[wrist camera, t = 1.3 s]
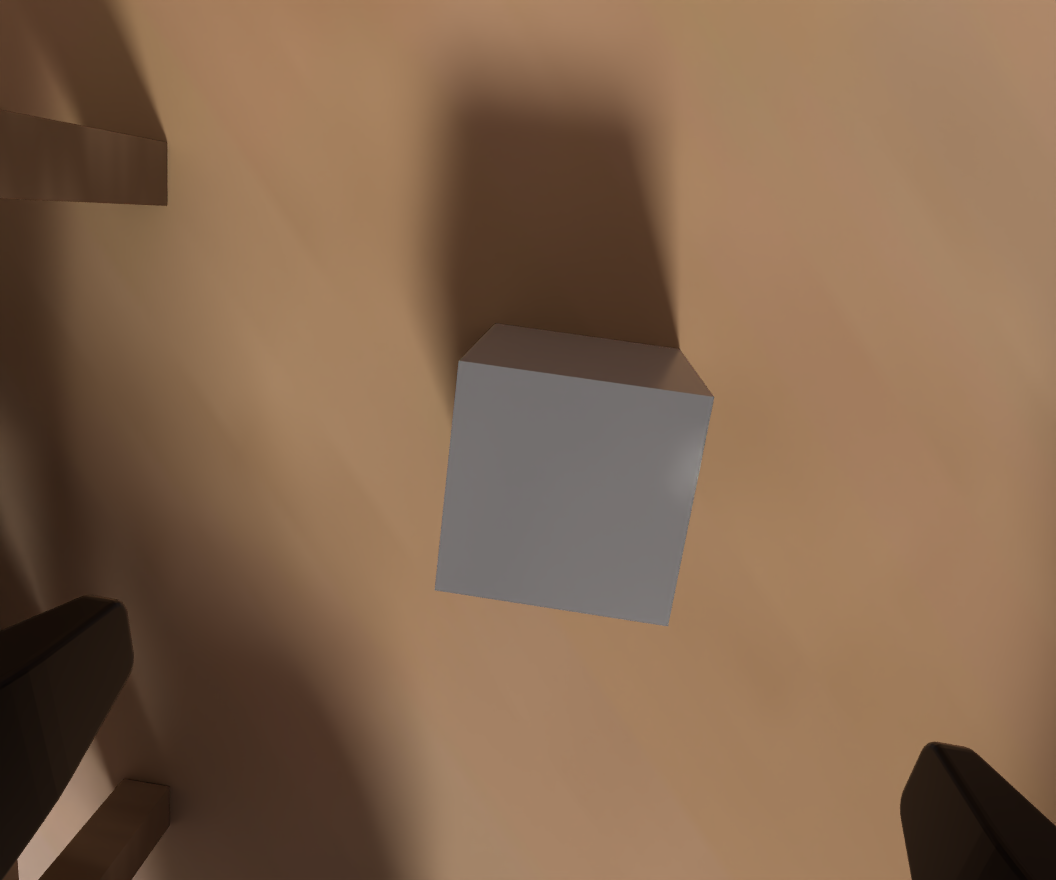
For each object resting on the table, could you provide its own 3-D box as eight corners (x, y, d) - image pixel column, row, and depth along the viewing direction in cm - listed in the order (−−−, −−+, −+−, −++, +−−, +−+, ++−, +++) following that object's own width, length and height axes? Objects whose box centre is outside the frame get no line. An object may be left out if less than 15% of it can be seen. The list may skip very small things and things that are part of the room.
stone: (647, 520, 22) (667, 626, 16) (475, 495, 22) (434, 590, 16) (679, 348, 20) (714, 396, 15) (495, 322, 21) (458, 360, 15)
